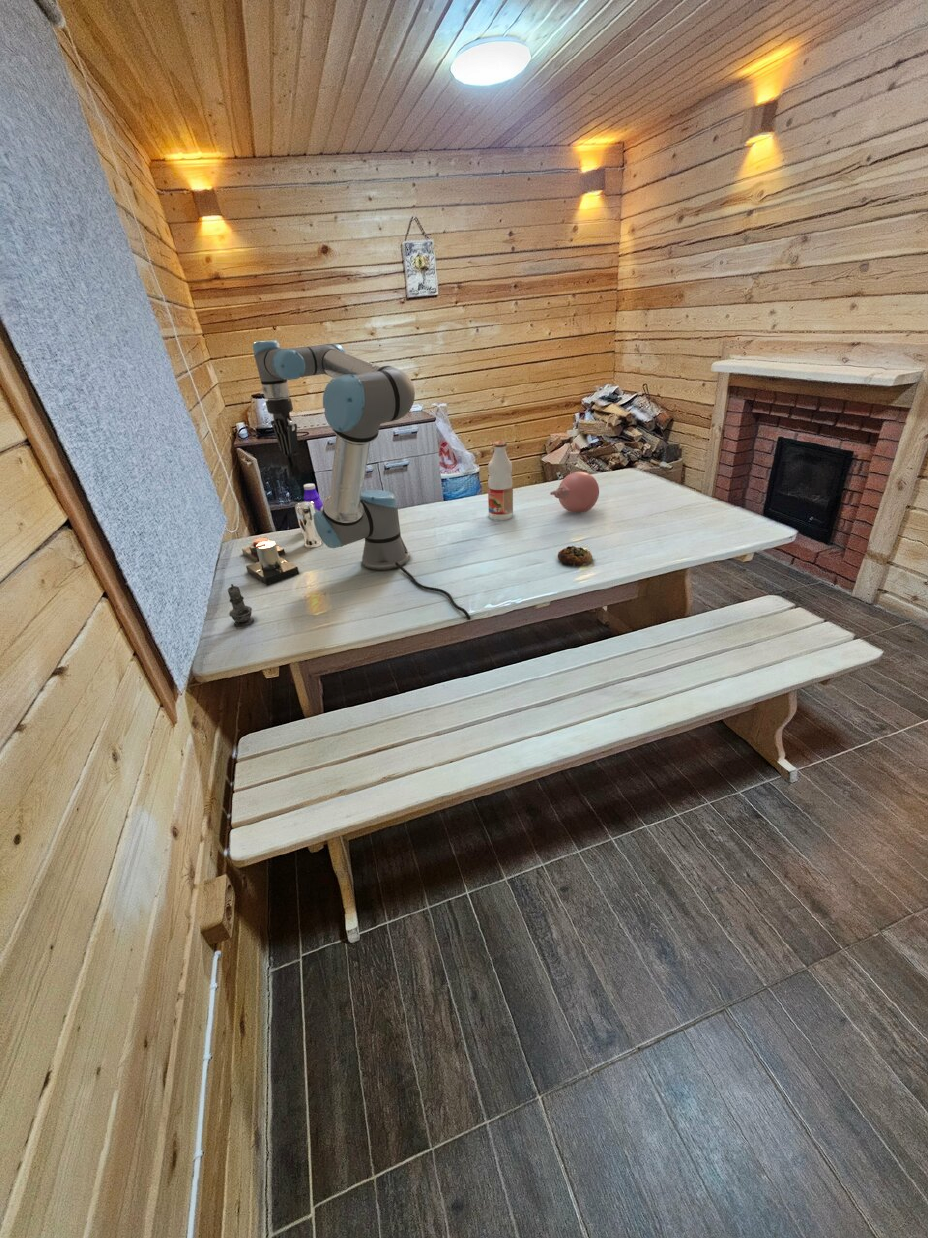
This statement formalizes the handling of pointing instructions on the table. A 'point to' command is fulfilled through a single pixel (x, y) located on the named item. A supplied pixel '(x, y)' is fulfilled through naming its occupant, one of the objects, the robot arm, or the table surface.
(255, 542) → the button
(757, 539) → the table surface
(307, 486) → the bottle
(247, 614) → the grey ringed upright piece
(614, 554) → the table surface
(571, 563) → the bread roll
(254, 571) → the timer panel
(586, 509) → the balloon
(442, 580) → the table surface
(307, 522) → the beer glass
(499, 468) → the fruit juice
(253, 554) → the box
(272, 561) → the timer dial
